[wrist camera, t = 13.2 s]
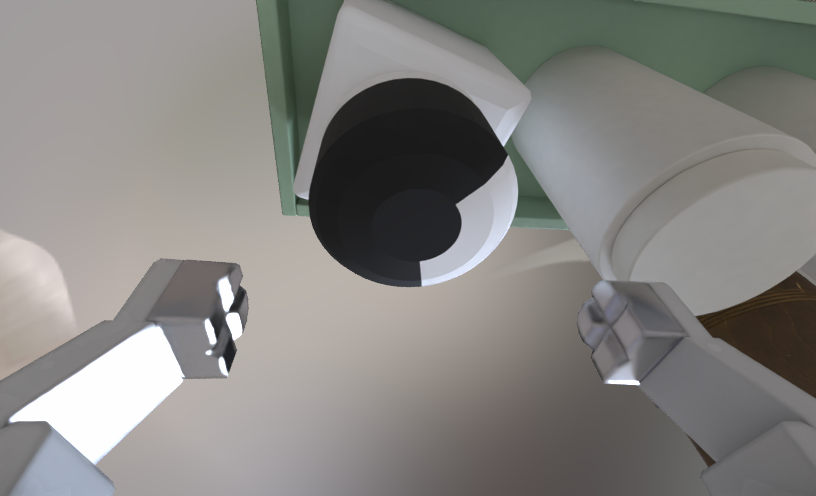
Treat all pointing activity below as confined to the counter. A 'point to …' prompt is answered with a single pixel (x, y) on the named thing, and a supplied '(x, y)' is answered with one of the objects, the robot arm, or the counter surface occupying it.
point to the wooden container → (772, 333)
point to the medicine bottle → (409, 147)
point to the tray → (539, 56)
